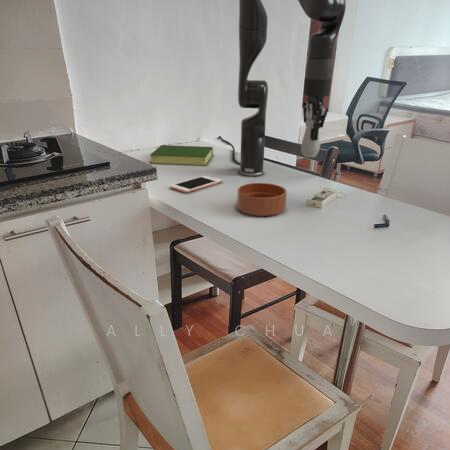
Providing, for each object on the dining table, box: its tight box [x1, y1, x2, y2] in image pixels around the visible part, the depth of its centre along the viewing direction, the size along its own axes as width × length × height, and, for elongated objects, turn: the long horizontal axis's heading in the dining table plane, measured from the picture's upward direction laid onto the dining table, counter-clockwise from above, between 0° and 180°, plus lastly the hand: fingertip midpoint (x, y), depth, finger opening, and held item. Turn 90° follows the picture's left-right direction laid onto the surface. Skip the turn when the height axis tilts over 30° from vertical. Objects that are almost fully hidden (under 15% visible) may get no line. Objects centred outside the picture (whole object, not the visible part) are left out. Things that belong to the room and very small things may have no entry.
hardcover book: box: [149, 144, 214, 167], centre depth 184 cm, size 25×19×4 cm
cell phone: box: [170, 175, 222, 194], centre depth 151 cm, size 9×18×1 cm, turn 137°
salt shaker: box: [300, 111, 320, 158], centre depth 125 cm, size 6×6×13 cm
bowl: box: [236, 182, 287, 217], centre depth 130 cm, size 15×15×6 cm
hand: (311, 140), depth 126 cm, fingers closed on salt shaker, 3 cm apart
